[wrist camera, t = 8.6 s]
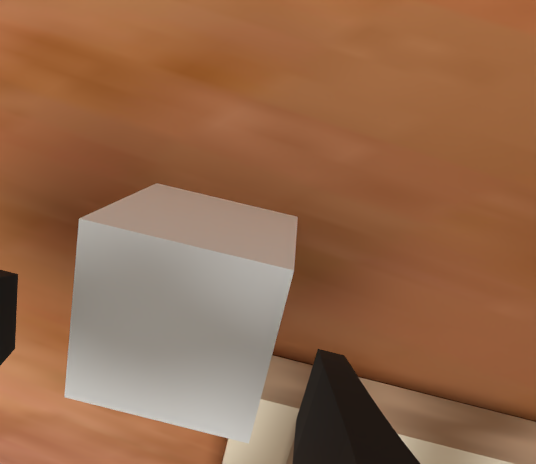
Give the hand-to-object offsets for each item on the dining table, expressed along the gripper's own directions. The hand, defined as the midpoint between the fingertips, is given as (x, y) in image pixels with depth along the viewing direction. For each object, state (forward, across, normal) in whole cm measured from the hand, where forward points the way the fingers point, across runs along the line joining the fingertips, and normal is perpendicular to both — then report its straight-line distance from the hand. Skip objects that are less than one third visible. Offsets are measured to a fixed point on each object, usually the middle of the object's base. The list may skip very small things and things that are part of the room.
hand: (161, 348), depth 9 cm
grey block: (+5, 0, 0) cm, 5 cm away
